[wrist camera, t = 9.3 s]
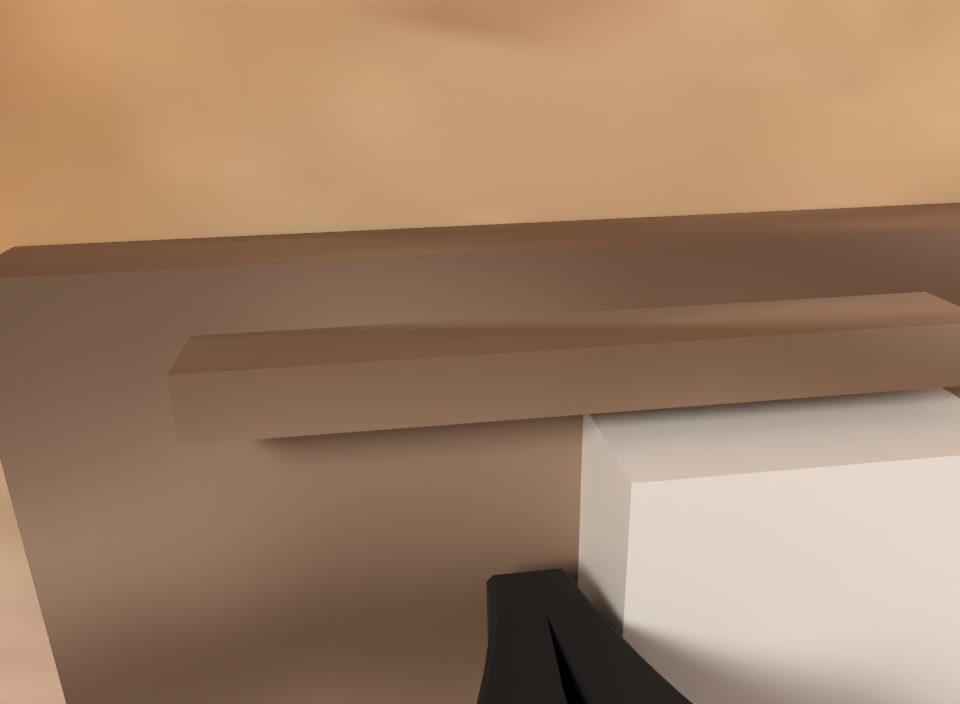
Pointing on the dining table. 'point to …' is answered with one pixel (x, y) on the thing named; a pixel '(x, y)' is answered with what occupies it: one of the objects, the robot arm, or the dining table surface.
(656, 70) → the dining table surface
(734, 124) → the dining table surface
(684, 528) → the cream cover
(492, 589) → the robot arm
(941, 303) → the board
